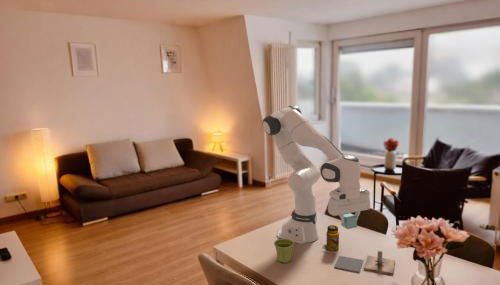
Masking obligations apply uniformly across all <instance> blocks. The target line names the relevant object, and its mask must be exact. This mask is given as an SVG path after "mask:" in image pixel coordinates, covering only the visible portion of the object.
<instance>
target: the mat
mask: <svg viewBox="0 0 500 285" xmlns="http://www.w3.org/2000/svg"><path fill="white" fill-rule="evenodd" d="M363 262H364V259H361V258H360V259H358V258H353V257H347V256H342V255H338V257H337V260H336V262H335V264H334V266H333V268H334V269H338V270H343V271H347V272H352V273H358V274H360V272H361V269H362V265H363Z"/></svg>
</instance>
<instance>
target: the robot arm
mask: <svg viewBox="0 0 500 285" xmlns="http://www.w3.org/2000/svg"><path fill="white" fill-rule="evenodd" d="M261 124H262V128H263V130H264V132H265V133H266V134H267V135H268V136H272V138H273V141H274V143H275V146H276V148H277V149H278V152H279V154H280V155H281V157H282V160H283V161H284V163H285V164H286V165H288V166H290V167H291V168H292V169H293V171H292V173H291V174H290V175H289V176H288V178H287V186H288V187H289V188H290V190H291V191H292V194H293V197H294V198H293V199H294V209H293V210H292V212H291V213H290V218H288V219H287V220H285V221H284V222H283V223H282V225H281V228H280V229H279V230H278V232H277V234H276V235H277V238H278V239H289V240H292V241H293V242H294V243H296V244H299V245H301V244H306V243H311V242H315V241H317V240H318V239H319V237H320V236H319V232H318V229H317V228H318V227H317V217H318V216H317V215H318V214H317V211H316V207H317V206H316V203H317V202H316V201H317V200H316V197H315V196H314V194H313V190H312V187H313V185H315V184H316V183H318V181H319V180H320V178H322V179H323V180H324V182H326V183H338V185H339V186H338V187H337V188H334V189H333V190H331V191H329V197H330V198H328V202H327V212H328V214H330V215H331V216H339V218H340V223H341V222H342V223H346V219H345V218H344V217H343V216H344V214H349V213H351V214H353V213H354V214H353V215H354V216H356V217H357V221H358V220H359V216H360V215H361V212H362V211H369V210H370V209H371V197H370V191H369V190H368V189H367V188H365V189H361V184H360V178H361V163H360V159H359V158H358V157H357V156H354V155H352V154H344V153H342V152H341V151H340V150H339V149H338V148H337V147H336V146H335V145H334V144H333V143H332V142H331V141H330V140H329V139H328V138H327V137H326V136H325V135H323V133H321V132H320V131H318V130H317V129H316V128H315V127H314V126H313V125H312V124H311V123H310V121H309V120H308V119H307V118H306V117H305V116H304V114H302V111H301V109H300V108H299V107H298V106H297V105H288V106H286V107H285V108H281V109H279V110H277V111H274V112H273V113H271V114H269V115H267V116H266V117H264V118H263V120H262V122H261ZM302 147H307V148H313V149H317V150H319V151H321V152H322V153H323V154H324V155H325V157H326V158H328V160H329V161H326V162H323V163H322V165H321V166H320V167H318V166H317V165H315V164H314V163H313V162H312V161H311V160H310V159H309V158H308V157H307V155H306V154H305V152H303V151H304V150H302Z"/></svg>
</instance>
